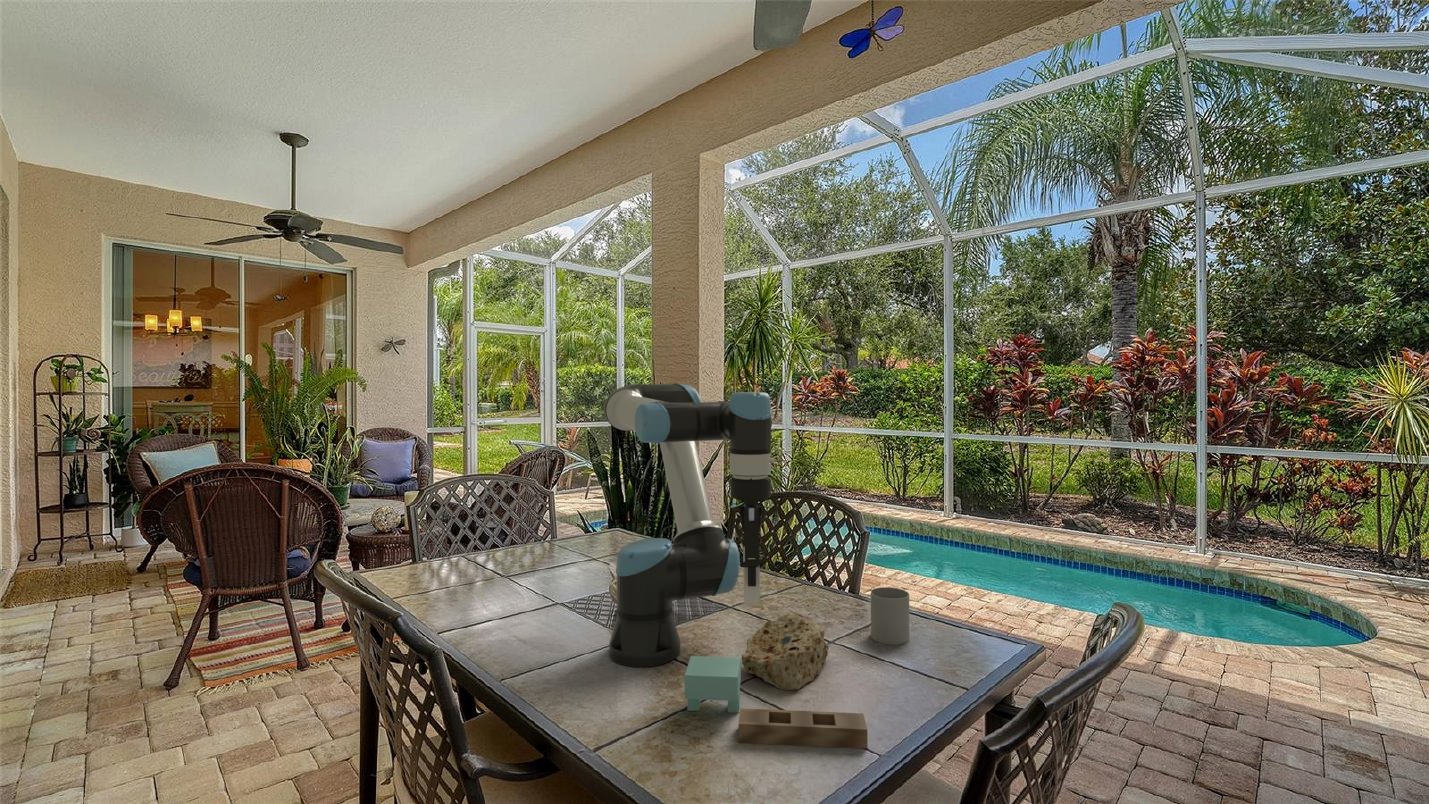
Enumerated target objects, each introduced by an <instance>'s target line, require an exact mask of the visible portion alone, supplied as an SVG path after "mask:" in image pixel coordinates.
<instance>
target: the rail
mask: <svg viewBox="0 0 1429 804" xmlns="http://www.w3.org/2000/svg"><path fill="white" fill-rule="evenodd" d="M737 724H738V727H737V728H738V743H741V744H743V743H744V744H757V745H758V744H761V745H763V744H765V745H782V746H800V747H801V746H803V747H804V746H805V747H820V748H821V747H822V748H823V747H824V748H825V747H826V748H845V749H849V748H850V749H851V748H852V749H864V750H865V749H866V750H867V749H868V727H867V723H866V719H865V715H864V713H863V712H862V713H861V712H860V713H859V712H858V713H857V712H838V711H836V712H835V711H815V710H814V711H811V710H790V709H785V710H784V709H767V708H766V709H762V708H761V709H760V708H742V707H740V710H739V717H738V723H737Z"/></svg>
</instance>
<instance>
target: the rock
mask: <svg viewBox="0 0 1429 804" xmlns="http://www.w3.org/2000/svg"><path fill="white" fill-rule="evenodd" d="M825 633H826V632H825V630H824V628H822V627H820V626H819V624H817V623H815V622H814V620H811V619H809V618H807V617H805V616H804V615H803V614H802V613H801V614H800V613H796V612H795V613H787V614H785V615H781V616H779V617H778V618H776V620H770V619H768V620H767V621H766V622H765V623H764V624H763V626H762V627H760V628H759V629H758V630H756V632H755V633H753V635H752V636H751V637H749V638H748V639H747V642H746V649H745V650H746V651H745V652H744V653H742V654H741V663H742V667H743V670H744V672H745V673H746V674H752V675H755V676H757V677H758V678H761V679H763V681H764V682H765V683H769V684H770V685H772V686H775V687H776V688H778V689H779V690H780V689H781V690H785V691H795V690H796V691H798V690H800V689H801V688H803V687H804V686H805V685H806V684H807V683H809V682H812V681H813V680H815V679H814V678H815V677H816V676H817V675H819V674H820V672H821V670H822V668H823V663H824V662H826V660H827V657H828V655H829V645H828V643H826V641H825Z"/></svg>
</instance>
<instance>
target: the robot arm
mask: <svg viewBox="0 0 1429 804" xmlns="http://www.w3.org/2000/svg"><path fill="white" fill-rule="evenodd" d="M603 405H604V406H603V414H604V417H605V419H606V421H607V422H608V423H609V425H611V426H612V427H613V428H615V429H618V430H620V431H633V432H635V434H636V436H637V439H638V441H640V442H641V443H646V444H648V443H649V444H651V443H652V444H659V446H660V451H661V455H662V460H663V465H664V466H663V467H664V470H665V475H666V480H667V485H668V486H667V487H668V490H669V494H670V496H669V497H670V500H671V506H672V509H673V514H674V519H675V524H676V529H677V533H676V535H675V536H674V537H673V539H672V541H671V540H670V539H668V538H664V537H656V538H654V537H651V538H643V539H639V540H635V541H633V542H629V543H627V544H625V545H624V546H623V547H621V548H620V549H619V551H618V553H617V556H616V566H615V574H616V620H615V623H614V626H613V630H612V633H611V637H610V640H609V644H608V656H609V658H610V659H611V660H612V662H615V663H616V664H620V665H623V666H627V667H628V666H629V667H636V668H637V667H639V668H641V667H642V668H643V667H645V668H646V667H654V666H659V665H663V664H666V663H667V664H668V663H669V662H672V661H673V660H675V659H676V658H678V657H679V656H680V654H681V651H682V650H681V642H682V641H681V638H680V635H679V631H678V629H677V626H676V623H675V619H674V616H673V602H674V601H682V600H689V599H696V598H697V599H698V598H704V597H716V596H718V595H722V594H727V593H728V594H729V592H731V591H733V589H734V588H735V586H736V585H737V583H738V579H739V575H740V568H743V571H742V572H743V573H742V574H743V604H744V605H760V602H761V600H760V599H761V595H760V589H761V588H760V587H761V585H760V584H761V583H760V582H761V581H760V577H761V575H760V569H761V567H760V564H761V560H760V546H761V539H760V535H759V533H761V530H762V525H761V524H762V522H761V519H762V517H763V510H762V509H763V508H762V506H758V501H759V500H762V501H763V500H768V499H769V498H771V496H772V479H771V477H770V475H771V473H772V472H771V470H772V469H771V468H772V467H771V464H773V463H774V464H775V459H774V457H771V455H772V454H771V453H772V414H773V413H772V411H773V410H772V407H771V405H772V404H771V397H770V395H769V394H768V393H767V392H763V391H760V392H759V391H758V392H757V391H747V392H746V391H742V392H741V391H740V392H733V393H731V395H730V397H729V400H721V401H720V400H718V401H709V402H708V401H702V400H701V396H700V394H699V392H698V391H697V389H695V387H694V386H692V385H690V384H684V383H683V384H681V383H678V382H677V383H676V382H675V383H672V384H671V383H670V384H667V383H664V384H663V383H662V384H661V383H660V384H657V383H655V384H653V383H652V384H651V383H645V384H641V383H634V384H628V385H624V386H622V387H619V388H617V389H615V390H614V391H612V392H610V394H609V395H608V396H607V397H606V399H605V400H604V404H603ZM703 441H704V442H705V441H707V442H708V441H729V474H730V475H732V476H731V478H729V485H730V487H729V492H730V493H729V495H730V497H731V498H732V499H736V500H742V501H743V506H742V505H741V506H740V507H739V517H740V520H741V522H740V523H741V532H742V533H743V536H742V538H743V543H742V544H743V549H742V550H743V556H742V557H743V558H742V559H743V561H741V562H740V553H739V548H738V545H737V543H736V541H735V540H734V539H732V538H730V537H729V538H726V537H725V536H726V535H725V533H724V530H723V528H722V527H721V526H719V525H717V524H716V523H715V519H714V515H713V511H712V506H711V503H710V498H709V495H708V494H709V493H708V489H707V486H706V482H705V477H704V473H703V468H702V464H701V459H700V456H699V451H698V447H697V442H703Z"/></svg>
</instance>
